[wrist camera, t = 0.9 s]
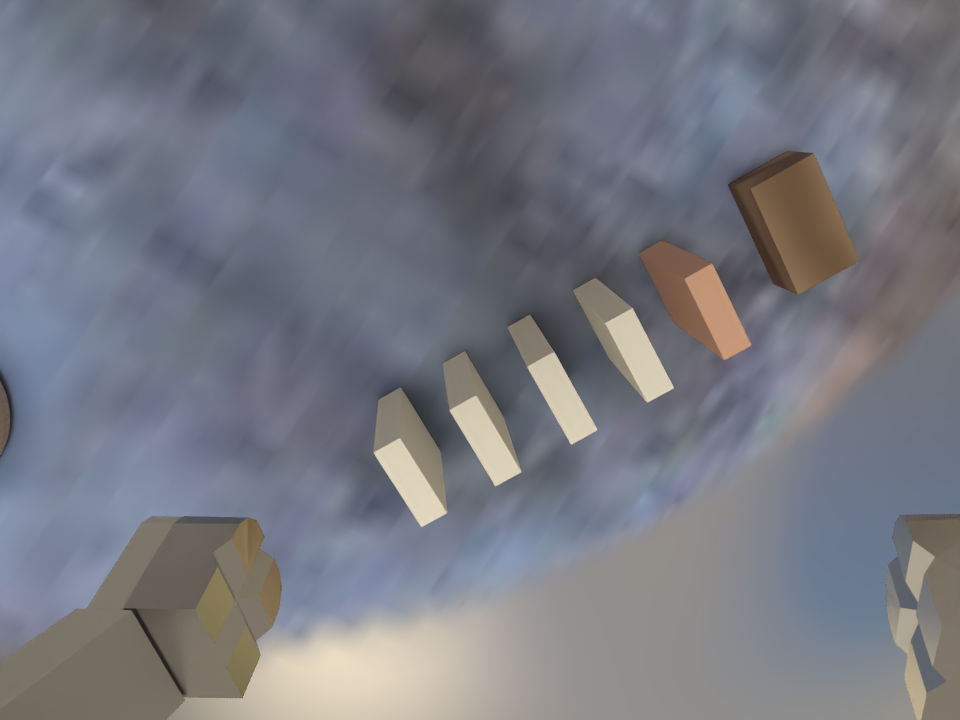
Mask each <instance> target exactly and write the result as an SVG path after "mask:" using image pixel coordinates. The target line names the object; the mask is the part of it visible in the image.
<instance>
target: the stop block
mask: <svg viewBox="0 0 960 720" xmlns="http://www.w3.org/2000/svg"><path fill="white" fill-rule="evenodd" d="M728 186H729V188H730V190H731V192H732V194H733V196H734V199H735V201H736V203H737V205H738V207H739V209H740V212H741V214H742V216H743V218H744V220H745V223H746V225H747V227H748V229H749V231H750V233H751V236H752V238H753V240H754V242H755V244H756V247H757V249H758V251H759V253H760V255H761V257H762V260H763V262H764V264H765V266H766V268H767V270H768V273H769V275H770V277H771V279H772V281H773V284H775V285H777V286H780V287H782V288H784V289H786V290H789V291H791V292H793V293H796V294H798V295H799V294H800V293H802V292H804V291H806V290H808V289H809V288H811V287H813V286H815V285H817V284H818V283H820V282H822V281H824V280H826V279H828V278H829V277H831V276H833V275H835V274H837V273H838V272H840V271H842V270H844V269H846V268H847V267H849V266H851V265H853V264H855V263H856V262H858V261H859V259H858V256H857V254H856V252H855V249H854V247H853V244H852V242H851V240H850V237H849V235H848V233H847V230H846V228H845V226H844V223H843V221H842V218H841V216H840V214H839V211H838V209H837V207H836V204H835V202H834V200H833V197H832V195H831V193H830V190H829V188H828V185H827V183H826V181H825V178H824V176H823V174H822V171H821V169H820V167H819V164H818V162H817V159H816V157H815V155H814V153H804V152H790V151H787V152H785V153H783V154H782V155H780V156H778V157H776V158H774V159H773V160H771V161H769V162H767V163H766V164H764V165H762V166H760V167H758V168H757V169H755V170H753V171H751V172H750V173H748V174H746V175H744V176H743V177H741V178H739V179H737V180H735V181H734V182H732V183H730V184H728Z"/></svg>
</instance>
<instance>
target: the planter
mask: <svg viewBox="0 0 960 720" xmlns="http://www.w3.org/2000/svg"><path fill="white" fill-rule="evenodd" d="M9 431H10V407H9V402H8V398H7V394H6V392H5V389H4V387H3V384H2V382H1V380H0V455H1V454H2V452H3V450H4V448H5V445H6V442H7V439H8V436H9Z"/></svg>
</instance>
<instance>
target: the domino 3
mask: <svg viewBox="0 0 960 720" xmlns="http://www.w3.org/2000/svg"><path fill="white" fill-rule="evenodd" d="M507 328H508V330H509V332H510V334H511V336H512V338H513V340H514V342H515V344H516V346H517V348H518V350H519V352H520V354H521V356H522V358H523V360H524V362H525V364H526V366H527V368H528V369H529V371H530V373H531V375H532V376H533V378H534V380H535V382H536V384H537V385H538V387H539V389H540V391H541V392H542V394H543V396H544V398H545V399H546V401H547V403H548V405H549V406H550V408H551V410H552V412H553V413H554V415H555V417H556V419H557V421H558V422H559V424H560V426H561V428H562V429H563V431H564V433H565V435H566V436H567V438H568V440H569V442H570V443H571V445H572V444H573V443H575V442H577V441H579V440H581V439H582V438H584V437H586V436H588V435H590V434H591V433H593V432H595V431H597V428H596V426H595V425H594V423H593V421H592V419H591V417H590V416H589V414H588V412H587V410H586V408H585V407H584V405H583V403H582V401H581V399H580V397H579V396H578V394H577V392H576V390H575V388H574V387H573V385H572V383H571V381H570V379H569V378H568V376H567V374H566V372H565V370H564V369H563V367H562V365H561V363H560V361H559V360H558V358H557V356H556V354H555V352H554V351H553V349H552V348H551V346H550V345H549V343H548V341H547V340H546V338H545V337H544V335H543V334H542V332H541V331H540V329H539V328H538V326H537V324H536V323H535V321H534V320H533V318H532V317H531V315H528V316H526V317H525V318H523V319H521V320H519V321H517V322H516V323H514V324H512V325H510V326H509V327H507Z"/></svg>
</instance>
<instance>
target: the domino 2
mask: <svg viewBox="0 0 960 720" xmlns="http://www.w3.org/2000/svg"><path fill="white" fill-rule="evenodd" d="M443 370H444V377H445V384H446V391H447V398H448V405H449V410H450V412H451V414H452V415H453V417H454V419H455V420H456V422H457V424H458V425H459V427H460V429H461V430H462V432H463V434H464V435H465V437H466V439H467V440H468V442H469V443H470V445H471V447H472V448H473V450H474V452H475V453H476V455H477V457H478V458H479V460H480V462H481V463H482V465H483V467H484V468H485V470H486V471H487V473H488V475H489V476H490V478H491V480H492V481H493V483H494V485H495V486H497V485H499V484H501V483H502V482H504V481H506V480H508V479H510V478H512V477H513V476H515V475H517V474H519V473H521V469H520V466H519V463H518V459H517V456H516V453H515V450H514V447H513V444H512V441H511V438H510V435H509V432H508V429H507V426H506V423H505V420H504V417H503V415H502V413H501V412H500V410H499V408H498V406H497V405H496V403H495V401H494V400H493V398H492V396H491V395H490V393H489V391H488V389H487V388H486V386H485V384H484V383H483V381H482V379H481V378H480V376H479V374H478V372H477V371H476V369H475V367H474V366H473V364H472V362H471V360H470V359H469V357H468V355H467V354H466V352H465V351H464V352H462V353H460V354H459V355H457V356H455V357H453V358H452V359H450V360H448V361H446V362H444V363H443Z"/></svg>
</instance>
